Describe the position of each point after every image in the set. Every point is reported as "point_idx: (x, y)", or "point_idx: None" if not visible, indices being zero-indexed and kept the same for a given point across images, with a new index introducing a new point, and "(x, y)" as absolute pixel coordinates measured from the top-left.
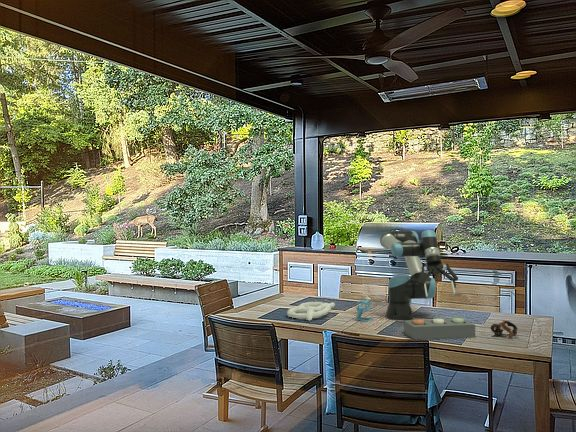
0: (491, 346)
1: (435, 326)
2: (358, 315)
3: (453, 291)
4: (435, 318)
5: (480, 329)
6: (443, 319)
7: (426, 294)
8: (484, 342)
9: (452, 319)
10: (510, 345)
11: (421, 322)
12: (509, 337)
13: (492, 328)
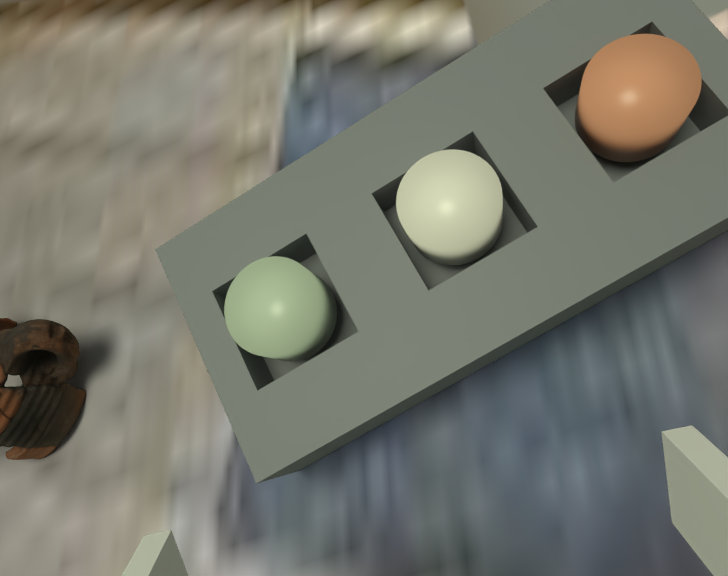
0: (137, 89)
1: (460, 57)
2: None
3: (163, 556)
4: (484, 236)
5: None
6: (402, 219)
7: (696, 438)
8: (165, 162)
9: (335, 404)
10: (42, 157)
11: (599, 57)
12: (11, 323)
13: (61, 325)
